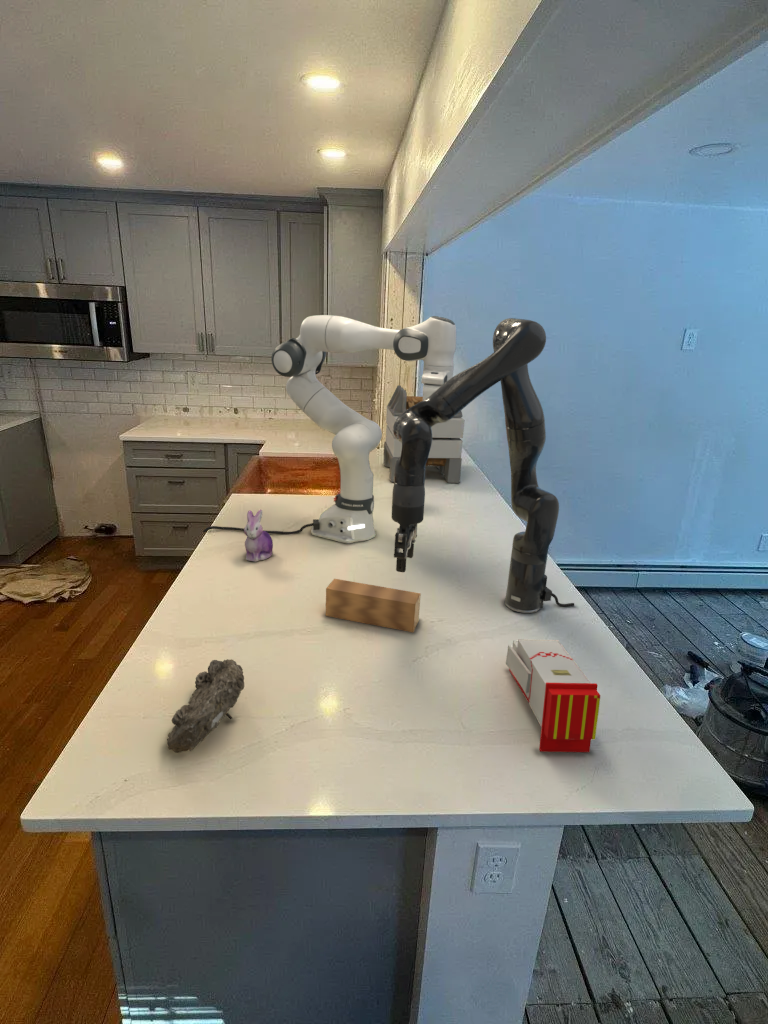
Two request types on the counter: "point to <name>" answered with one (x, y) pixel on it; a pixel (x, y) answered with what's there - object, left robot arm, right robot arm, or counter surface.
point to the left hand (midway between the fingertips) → (433, 422)
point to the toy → (556, 694)
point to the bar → (373, 605)
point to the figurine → (257, 538)
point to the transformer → (443, 439)
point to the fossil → (206, 705)
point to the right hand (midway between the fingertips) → (404, 564)
